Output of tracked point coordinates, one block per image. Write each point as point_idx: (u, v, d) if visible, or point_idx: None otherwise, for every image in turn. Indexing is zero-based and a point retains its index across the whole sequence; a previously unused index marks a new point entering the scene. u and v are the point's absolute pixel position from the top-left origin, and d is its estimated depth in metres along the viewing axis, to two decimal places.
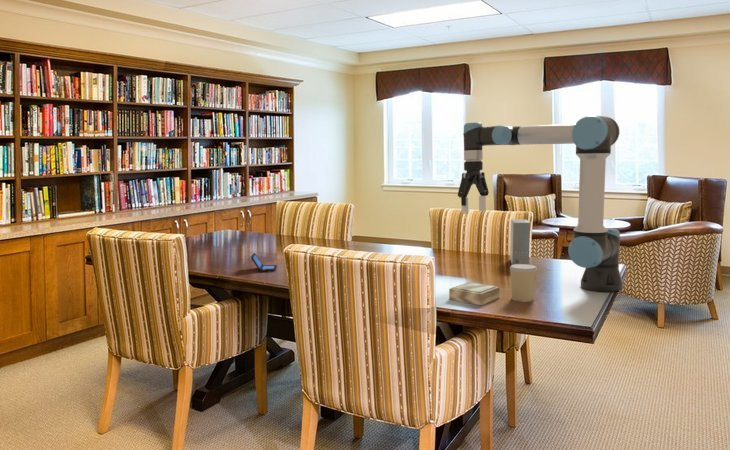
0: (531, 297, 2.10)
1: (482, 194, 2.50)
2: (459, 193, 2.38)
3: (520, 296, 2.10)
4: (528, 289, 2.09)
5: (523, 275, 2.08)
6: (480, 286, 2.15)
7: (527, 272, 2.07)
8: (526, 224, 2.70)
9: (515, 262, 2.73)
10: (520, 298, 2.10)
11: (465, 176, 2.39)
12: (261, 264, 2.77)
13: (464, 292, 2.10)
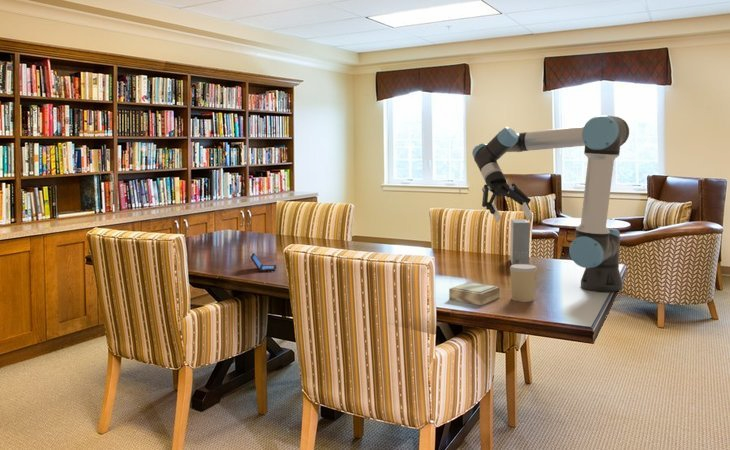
0: (531, 297, 2.10)
1: (523, 203, 2.28)
2: (482, 203, 2.24)
3: (520, 296, 2.10)
4: (528, 289, 2.09)
5: (523, 275, 2.08)
6: (480, 286, 2.15)
7: (527, 272, 2.07)
8: (526, 224, 2.70)
9: (515, 262, 2.73)
10: (520, 298, 2.10)
11: (484, 188, 2.28)
12: (260, 264, 2.77)
13: (464, 292, 2.10)
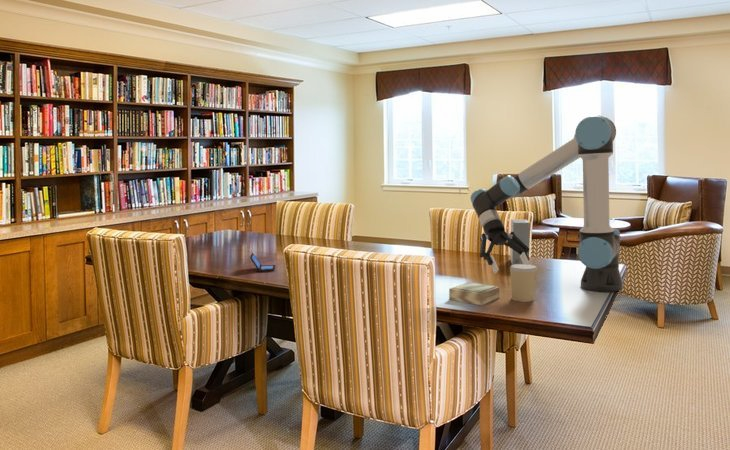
0: (531, 297, 2.10)
1: (522, 253, 2.23)
2: (480, 254, 2.19)
3: (520, 296, 2.10)
4: (528, 289, 2.09)
5: (523, 275, 2.08)
6: (480, 286, 2.15)
7: (527, 272, 2.07)
8: (526, 224, 2.70)
9: (515, 262, 2.73)
10: (520, 298, 2.10)
11: (482, 237, 2.23)
12: (259, 264, 2.77)
13: (464, 292, 2.10)
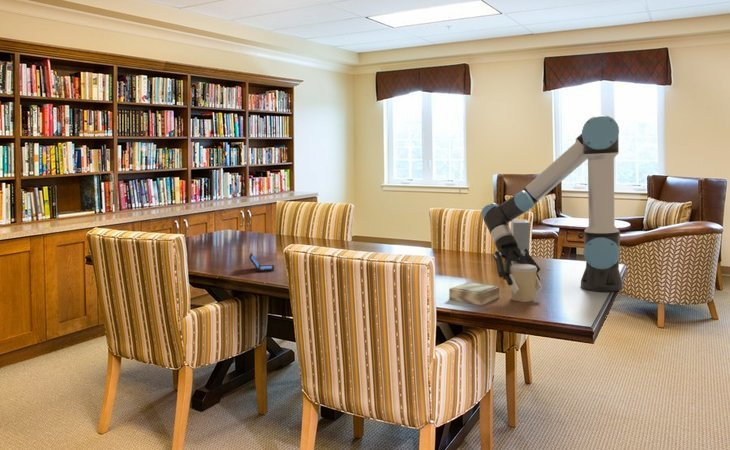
0: (531, 297, 2.10)
1: None
2: (499, 273, 2.12)
3: (520, 296, 2.09)
4: (529, 289, 2.09)
5: (523, 275, 2.08)
6: (480, 286, 2.15)
7: (527, 272, 2.07)
8: (526, 224, 2.70)
9: (515, 262, 2.73)
10: (520, 298, 2.10)
11: (496, 255, 2.16)
12: (258, 264, 2.77)
13: (464, 292, 2.10)
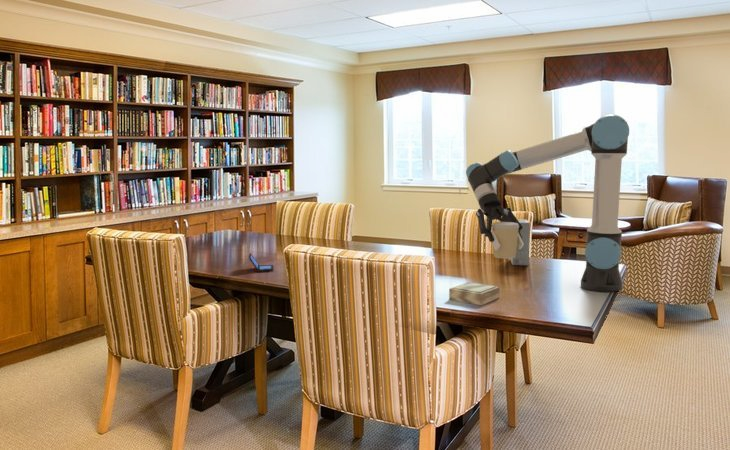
0: (512, 254, 2.09)
1: None
2: (481, 230, 2.11)
3: (501, 253, 2.09)
4: (510, 246, 2.08)
5: (505, 231, 2.07)
6: (480, 286, 2.15)
7: (509, 228, 2.07)
8: (526, 224, 2.70)
9: (515, 262, 2.73)
10: (502, 255, 2.09)
11: (478, 213, 2.15)
12: (257, 264, 2.77)
13: (464, 292, 2.10)
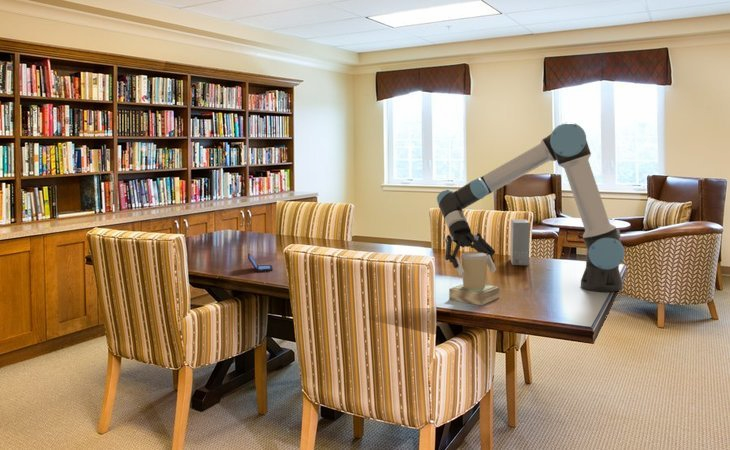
0: (481, 285, 2.11)
1: (487, 255, 2.17)
2: (446, 256, 2.13)
3: (470, 284, 2.11)
4: (479, 277, 2.10)
5: (473, 263, 2.09)
6: None
7: (477, 260, 2.08)
8: (526, 224, 2.70)
9: (515, 262, 2.73)
10: (471, 286, 2.11)
11: (447, 239, 2.17)
12: (256, 264, 2.77)
13: (464, 292, 2.10)
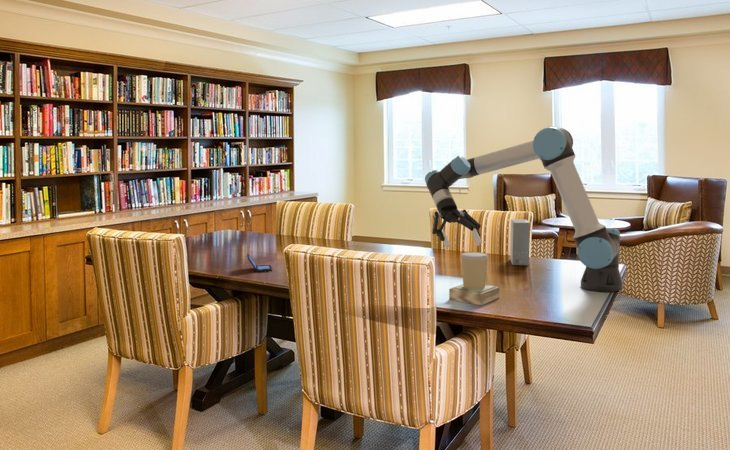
0: (481, 285, 2.11)
1: None
2: (433, 230, 2.27)
3: (470, 284, 2.11)
4: (479, 277, 2.10)
5: (473, 263, 2.09)
6: None
7: (477, 260, 2.08)
8: (526, 224, 2.70)
9: (515, 262, 2.73)
10: (471, 286, 2.11)
11: (435, 215, 2.31)
12: (255, 264, 2.77)
13: (464, 292, 2.10)
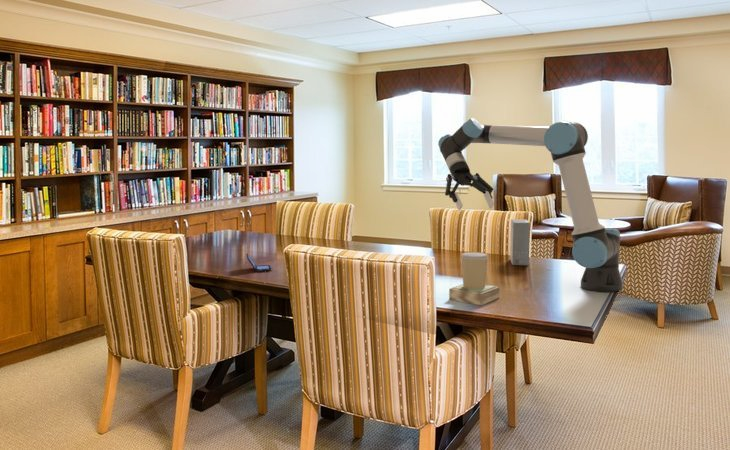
0: (481, 285, 2.11)
1: (486, 192, 2.34)
2: (445, 192, 2.29)
3: (470, 284, 2.11)
4: (479, 277, 2.10)
5: (473, 263, 2.09)
6: None
7: (477, 260, 2.08)
8: (526, 224, 2.70)
9: (515, 262, 2.73)
10: (471, 286, 2.11)
11: (448, 177, 2.33)
12: (254, 264, 2.77)
13: (464, 292, 2.10)
